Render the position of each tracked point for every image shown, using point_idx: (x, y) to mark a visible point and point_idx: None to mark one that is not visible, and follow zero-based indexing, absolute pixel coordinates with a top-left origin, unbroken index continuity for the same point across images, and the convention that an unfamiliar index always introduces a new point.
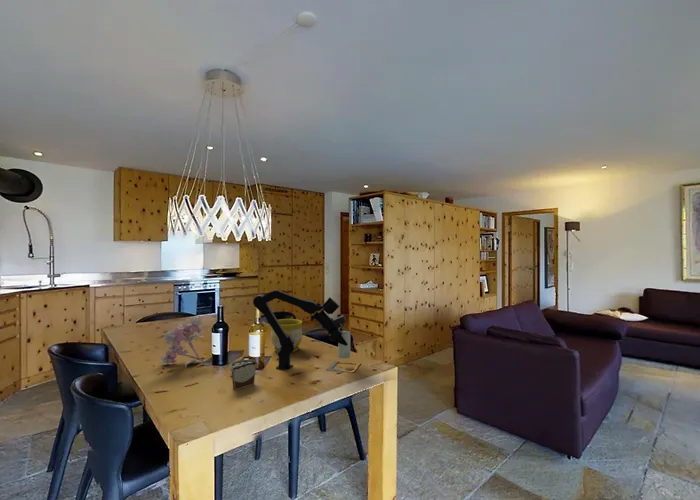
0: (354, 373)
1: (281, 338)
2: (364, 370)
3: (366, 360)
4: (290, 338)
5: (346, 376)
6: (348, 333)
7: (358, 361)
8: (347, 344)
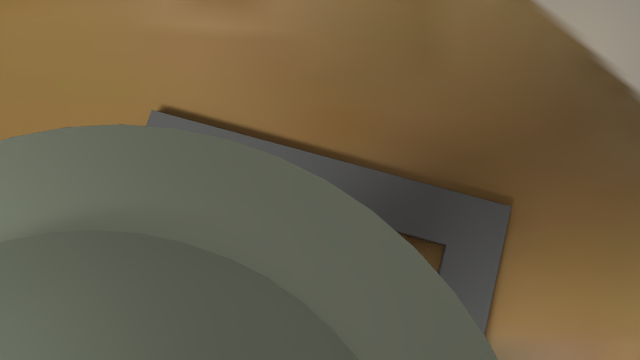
0: (515, 204)
1: None
2: (399, 81)
3: (9, 39)
4: None
5: (632, 306)
6: (421, 259)
7: None
8: None
